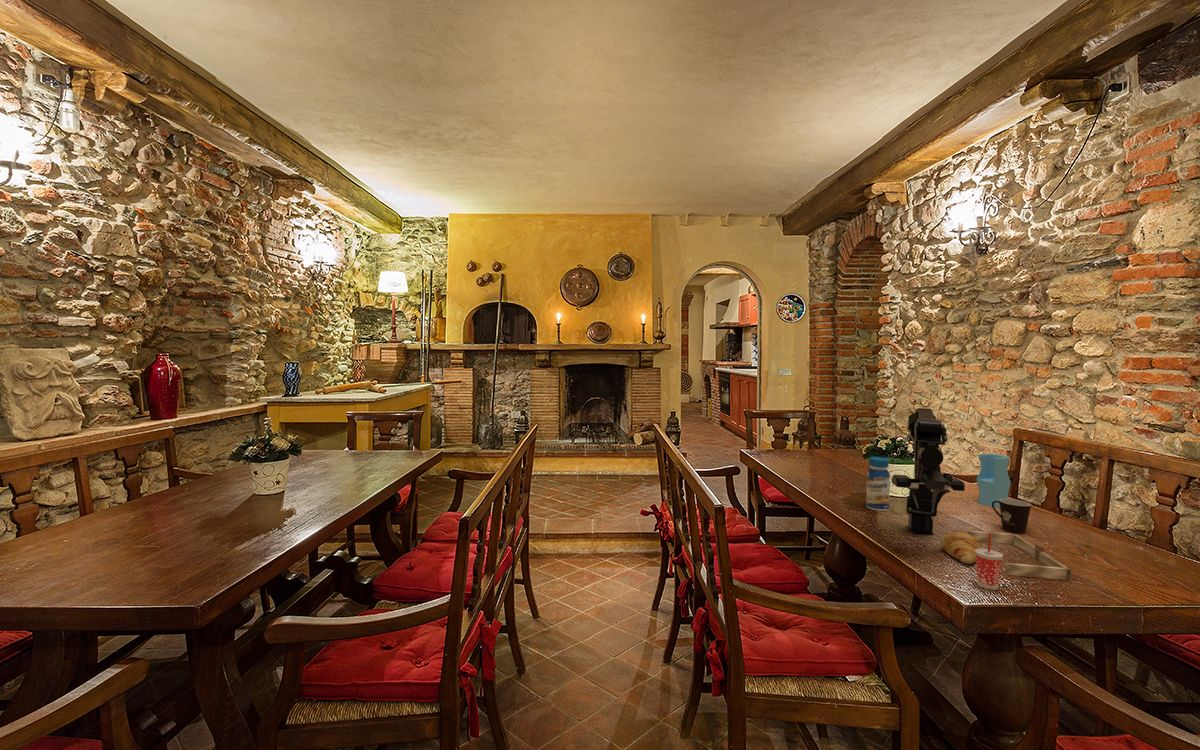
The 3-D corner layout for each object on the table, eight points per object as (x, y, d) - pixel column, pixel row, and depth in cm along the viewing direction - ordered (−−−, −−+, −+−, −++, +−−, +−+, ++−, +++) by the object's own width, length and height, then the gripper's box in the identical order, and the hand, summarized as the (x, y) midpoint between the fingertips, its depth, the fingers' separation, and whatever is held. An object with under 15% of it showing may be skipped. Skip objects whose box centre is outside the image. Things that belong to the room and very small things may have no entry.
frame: (1006, 574, 146) (1007, 559, 146) (963, 539, 174) (963, 526, 173) (1070, 580, 143) (1071, 564, 143) (1015, 543, 170) (1016, 530, 170)
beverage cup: (984, 590, 137) (986, 538, 136) (967, 580, 143) (970, 530, 142) (1007, 590, 137) (1010, 538, 136) (990, 580, 143) (992, 530, 142)
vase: (975, 502, 215) (977, 454, 214) (990, 500, 217) (992, 453, 216) (994, 507, 208) (996, 458, 206) (1009, 506, 209) (1011, 457, 208)
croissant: (979, 580, 151) (996, 558, 149) (944, 559, 154) (960, 538, 152) (962, 552, 170) (977, 533, 168) (931, 534, 173) (945, 515, 171)
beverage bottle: (891, 507, 207) (893, 458, 206) (886, 512, 201) (888, 461, 200) (868, 503, 213) (870, 455, 212) (862, 508, 207) (864, 458, 206)
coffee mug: (1035, 536, 177) (1036, 506, 176) (1006, 534, 178) (1007, 505, 178) (1015, 524, 188) (1016, 497, 187) (988, 522, 190) (989, 495, 189)
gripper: (903, 464, 157) (901, 515, 158) (974, 467, 152) (972, 520, 153) (891, 456, 167) (890, 504, 168) (957, 459, 163) (956, 509, 164)
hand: (926, 509), depth 163 cm, fingers open, 4 cm apart
